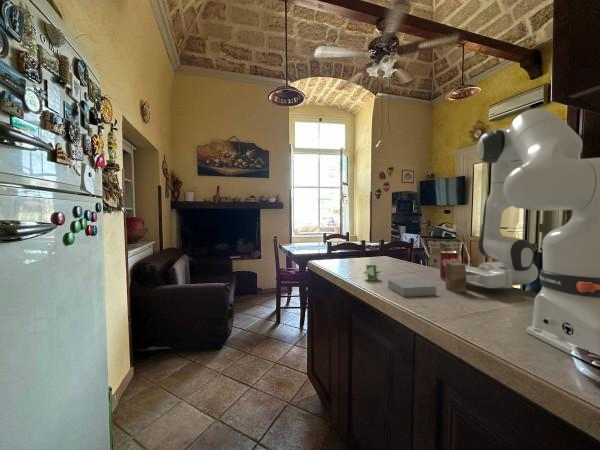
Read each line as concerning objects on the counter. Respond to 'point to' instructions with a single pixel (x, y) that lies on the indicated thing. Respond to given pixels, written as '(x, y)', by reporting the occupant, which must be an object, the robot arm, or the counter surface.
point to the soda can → (447, 261)
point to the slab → (411, 287)
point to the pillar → (455, 277)
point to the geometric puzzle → (371, 272)
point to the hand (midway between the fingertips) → (455, 275)
